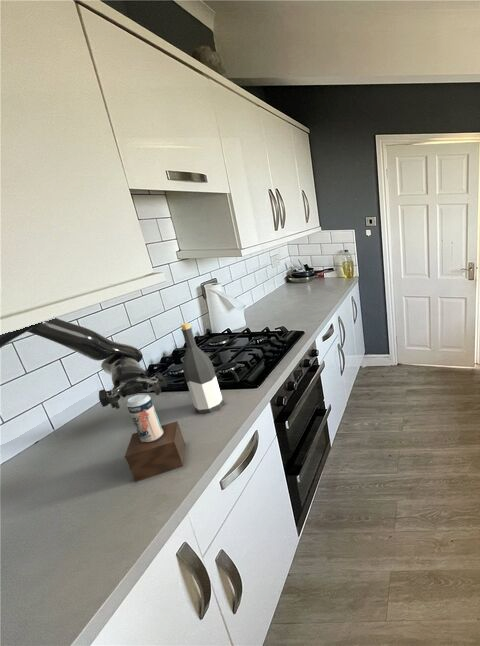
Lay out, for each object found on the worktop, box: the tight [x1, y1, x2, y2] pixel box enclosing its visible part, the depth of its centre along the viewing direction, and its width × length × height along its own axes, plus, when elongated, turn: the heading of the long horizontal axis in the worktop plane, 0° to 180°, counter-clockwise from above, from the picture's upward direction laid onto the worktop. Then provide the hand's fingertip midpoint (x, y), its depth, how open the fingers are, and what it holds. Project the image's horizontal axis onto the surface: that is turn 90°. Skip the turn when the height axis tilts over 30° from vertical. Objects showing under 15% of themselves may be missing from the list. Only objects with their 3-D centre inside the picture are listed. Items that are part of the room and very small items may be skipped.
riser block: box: [124, 420, 186, 482], centre depth 92 cm, size 10×10×8 cm
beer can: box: [126, 393, 163, 442], centre depth 88 cm, size 5×5×12 cm
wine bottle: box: [180, 322, 224, 415], centre depth 111 cm, size 8×8×30 cm
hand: (137, 398), depth 92 cm, fingers open, 8 cm apart
